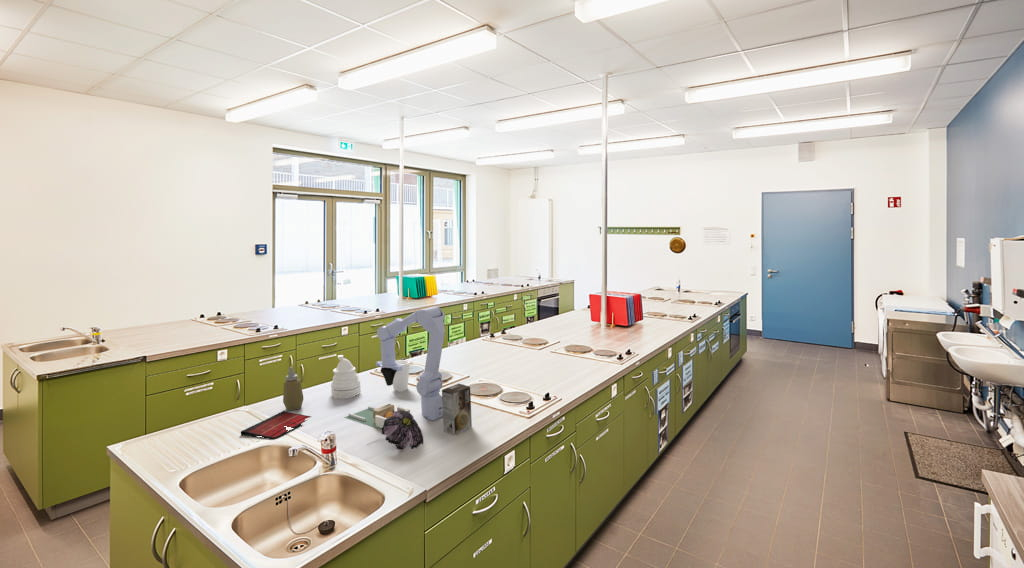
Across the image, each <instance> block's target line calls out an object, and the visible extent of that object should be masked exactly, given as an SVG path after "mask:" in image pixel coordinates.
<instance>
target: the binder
mask: <svg viewBox="0 0 1024 568" xmlns="http://www.w3.org/2000/svg"><path fill="white" fill-rule="evenodd" d="M309 418H312V416H311V415H304V414H300V413H295V412H290V411H281V412H278V413H276V414H273V415H272V416H270V417H268V418H266V419H264V420H262V421H259V422H258V423H256V424H252V426H250V427H248V428H246V429H243V430H241V431H240V436H244V435H246V434H249V435H250V434H253V435H252V436H256V435H257V436H262V437H264V438H263V439H266V438H269V439H268V440H276V439H277V440H278V439H279V438H281V437H282V436H285V435H286V434H287V433H288V432H287V431H288V430H286V427H284V426H287V427H291V428H295V429H296V428H298V427H300V426H301V424H303V423H305V422H306V421H308V419H309ZM299 425H300V426H299ZM297 426H298V427H297ZM286 432H287V433H286ZM245 433H246V434H245ZM243 434H244V435H243Z"/></svg>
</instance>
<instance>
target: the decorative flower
mask: <svg viewBox="0 0 1024 568" xmlns="http://www.w3.org/2000/svg"><path fill="white" fill-rule="evenodd" d="M394 411H395V410H394ZM392 415H394V416H391V417H388V418H387V419H386V420H385V421H384V425H383V428H382V430H381V434H382V435H384V436H385V435H386V437H385V441H387V442H388V444H389V443H390V444H391V445H392V444H393V445H395V446H396V450H400V451H402V450H404V449H405V448H406V447H407V446H408V444H409V446H410V448H411V450H413V449H414V448H416V449H417V447H419V446H420V445H421V444H422V445H424V435H423V432H422V429H421V427H420V426H419V424H418V422H417V420H416V419H414V415H413V414H411V412H410V413H409V412H407V411H403V410H400V411H397V410H396V411H395V412H393V413H392Z"/></svg>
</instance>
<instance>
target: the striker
mask: <svg viewBox="0 0 1024 568" xmlns="http://www.w3.org/2000/svg"><path fill="white" fill-rule="evenodd" d="M376 408H377V409H374V410H373V422H374V423H375V416H376V415H378V416H381V417H384V418H385V415H386V414H387V413H388V412H395V405H394V404H391V403H388V404H386V405H383V406H379V407H376Z"/></svg>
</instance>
